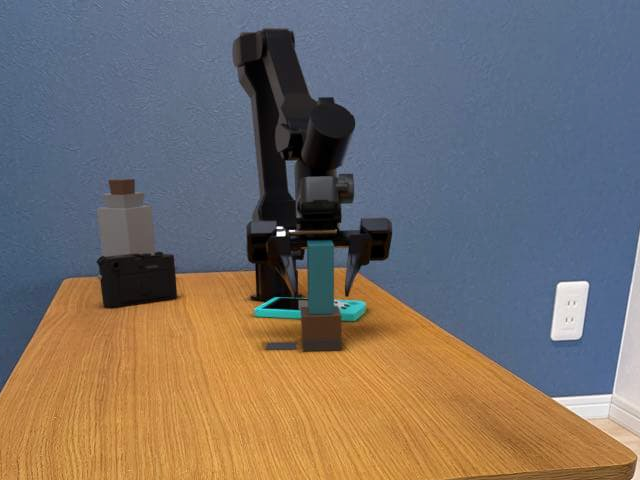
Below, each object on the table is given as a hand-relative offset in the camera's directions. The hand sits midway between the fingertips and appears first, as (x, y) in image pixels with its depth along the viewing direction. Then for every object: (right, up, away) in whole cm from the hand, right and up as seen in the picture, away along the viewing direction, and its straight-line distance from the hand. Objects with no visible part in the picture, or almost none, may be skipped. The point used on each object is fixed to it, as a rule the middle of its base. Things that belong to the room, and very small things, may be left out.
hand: (321, 295), depth 109 cm
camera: (-30, +9, +35) cm, 47 cm away
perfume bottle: (-33, +16, +49) cm, 61 cm away
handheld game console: (-1, +4, +23) cm, 24 cm away
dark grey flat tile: (-5, -5, +4) cm, 9 cm away
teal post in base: (0, -5, +4) cm, 7 cm away
